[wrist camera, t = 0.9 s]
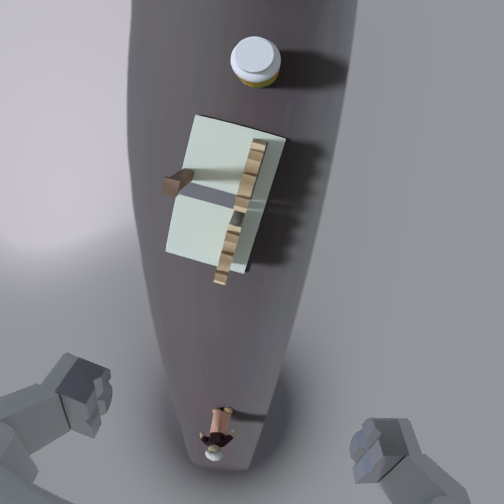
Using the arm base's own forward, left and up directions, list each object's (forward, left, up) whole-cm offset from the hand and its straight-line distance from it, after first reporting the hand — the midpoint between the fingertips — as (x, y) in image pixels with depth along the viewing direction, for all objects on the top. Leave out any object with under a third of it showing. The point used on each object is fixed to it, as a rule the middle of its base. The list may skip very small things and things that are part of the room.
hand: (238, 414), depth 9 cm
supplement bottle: (-14, -5, -36) cm, 39 cm away
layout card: (+4, -5, -36) cm, 36 cm away
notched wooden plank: (+9, -2, -35) cm, 36 cm away
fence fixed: (0, -2, -35) cm, 35 cm away
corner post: (+2, -10, -36) cm, 37 cm away
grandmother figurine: (+48, +5, -36) cm, 60 cm away
